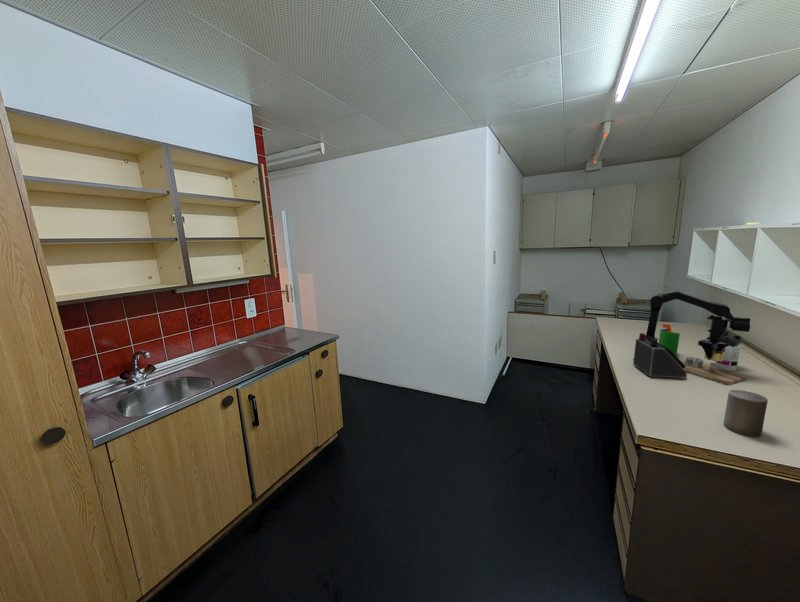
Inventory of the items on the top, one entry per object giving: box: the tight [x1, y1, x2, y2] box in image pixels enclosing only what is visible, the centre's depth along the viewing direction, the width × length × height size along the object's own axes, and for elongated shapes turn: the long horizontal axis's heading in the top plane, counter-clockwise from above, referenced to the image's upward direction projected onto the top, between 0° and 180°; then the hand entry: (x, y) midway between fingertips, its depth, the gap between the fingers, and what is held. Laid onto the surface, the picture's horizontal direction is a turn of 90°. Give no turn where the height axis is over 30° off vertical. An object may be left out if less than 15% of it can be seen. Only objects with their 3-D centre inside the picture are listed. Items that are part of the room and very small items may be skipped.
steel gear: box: [685, 356, 704, 369], centre depth 167 cm, size 7×7×4 cm
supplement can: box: [714, 343, 741, 372], centre depth 166 cm, size 8×8×15 cm
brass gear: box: [704, 350, 724, 362], centre depth 159 cm, size 7×7×4 cm
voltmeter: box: [632, 332, 688, 380], centre depth 163 cm, size 16×16×20 cm
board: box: [681, 357, 748, 386], centre depth 161 cm, size 16×24×6 cm, turn 20°
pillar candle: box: [723, 389, 768, 438], centre depth 113 cm, size 10×10×15 cm
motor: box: [658, 323, 681, 356], centre depth 186 cm, size 10×9×20 cm
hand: (713, 357), depth 159 cm, fingers closed on brass gear, 7 cm apart
